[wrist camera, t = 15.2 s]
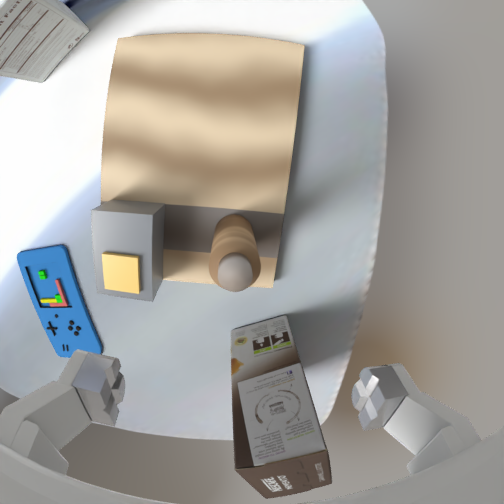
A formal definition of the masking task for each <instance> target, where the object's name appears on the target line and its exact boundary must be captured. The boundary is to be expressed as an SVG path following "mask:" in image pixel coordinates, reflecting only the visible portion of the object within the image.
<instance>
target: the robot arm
mask: <svg viewBox="0 0 504 504" xmlns="http://www.w3.org/2000/svg"><path fill="white" fill-rule="evenodd" d="M120 367H121V365H120V362H119V359H117V358H114V357H110V356H105V355H101V354H97V353H92V352H87V351H83V350H79V349H77V350H76V351H74V353H73V354H72V356H71V358H70V359H69V361H68V363H67V365H66V366H65V368H64V370H63V372H62V373H61V375H60V377H59V379H58V381H57V382H56V381H52V382H50V383H48V384H47V385H45V386H43V387H41V388H39V389H38V390H36V391H34V392H32V393H30V394H29V395H27V396H25V397H23V398H21V399H20V400H18V401H16V402H14V403H12V404H11V405H9V406H7V407H5V408H4V410H3V411H2V413H1V415H0V504H175V503H168V502H161V501H155V500H150V499H145V498H139V497H135V496H130V495H126V494H122V493H118V492H115V491H111V490H108V489H104V488H100V487H97V486H94V485H91V484H88V483H85V482H82V481H79V480H77V479H74V478H71V477H69V476H66V472H67V468H68V465H69V464H68V462H67V461H66V460H65V458H64V457H63V456H62V455H61V454H60V453H59V452H58V451H59V450H60V449H61V448H63V447H64V446H65V445H66V444H67V443H68V442H70V441H71V440H72V439H73V438H74V437H75V436H76V435H78V434H79V433H80V432H81V431H82V430H84V429H85V428H86V427H87V426H88V425H89V424H91V423H92V422H91V421H93V422H97V423H102V424H106V425H110V426H115V423H116V420H117V417H118V413H119V409H118V407H117V405H118V404H119V403H120V402H122V401H123V397H124V393H125V380H124V376H123V375H122V374H121V373H120V372H119V370H120ZM359 376H360V378H361V380H359V381H358V382H357V383H355V385H354V387H353V390H352V402H353V405H354V407H355V408H356V409H357V410H359V411H360V413H359V416H358V418H359V420H360V423H361V425H362V428H363V430H364V431H365V430H370V429H376V428H381V427H384V429H385V430H386V431H387V432H389V433H390V434H391V435H392V436H393V437H394V438H395V439H397V440H398V441H399V442H400V443H401V444H402V445H404V446H405V447H406V448H407V449H408V450H410V451H411V452H412V453H413V454H414V455H416V456H415V457H414V458H413V459H412V460H411V461H410V462H409V463H408V464H407V468H408V470H409V473H410V476H408V477H405V478H402V479H400V480H397V481H394V482H391V483H388V484H385V485H382V486H379V487H375V488H372V489H368V490H365V491H361V492H357V493H353V494H349V495H345V496H340V497H336V498H331V499H325V500H320V501H315V502H307V503H300V504H504V426H503V427H501V428H500V429H498V430H497V431H495V432H494V433H492V434H491V435H489V436H488V437H486V438H485V439H483V440H481V439H480V437H479V435H478V434H477V432H476V430H475V429H474V427H473V426H472V424H471V422H470V421H469V419H468V418H467V417H466V416H464V415H462V414H460V413H459V412H457V411H455V410H454V409H452V408H450V407H448V406H447V405H445V404H443V403H442V402H440V401H438V400H436V399H435V398H433V397H431V396H430V395H428V394H426V393H424V392H420V391H419V389H418V388H417V386H416V385H415V383H414V382H413V380H412V378H411V377H410V375H409V374H408V372H407V371H406V369H405V368H404V366H403V365H402V364H400V363H398V364H390V365H382V366H374V367H366V368H364V369H363V370H362V371H361V373H360V375H359Z"/></svg>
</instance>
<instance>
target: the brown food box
mask: <svg viewBox="0 0 504 504" xmlns="http://www.w3.org/2000/svg"><path fill="white" fill-rule="evenodd" d="M231 378H232V412H233V439H234V461H235V470H236V472H237V473H239V474H240V475H241V476H242V477H243V478H244V479H245V480H246V481H247V482H248V483H249V484H250V485H251V486H252V487H254V488H255V489H256V490H257V491H258V492H259V493H260V494H261V495H262V496H263V497H265V498H267V499H268V498H274V497H281V496H287V495H292V494H297V493H301V492H305V491H309V490H311V489H314V488H318V487H322V486H325V485H329V484H331V483H332V476H331V467H330V460H329V454H328V450H327V447H326V445H325V442H324V438H323V434H322V431H321V428H320V424H319V421H318V417H317V413H316V410H315V407H314V404H313V400H312V397H311V394H310V390H309V387H308V384H307V380H306V377H305V374H304V371H303V367H302V364H301V361H300V358H299V354H298V351H297V348H296V345H295V342H294V338H293V335H292V332H291V329H290V326H289V322H288V319H287V316H285V315H284V316H280V317H277V318H273V319H270V320H266V321H263V322H259V323H256V324H252V325H249V326H245V327H241V328H237V329H234V330H232V331H231Z"/></svg>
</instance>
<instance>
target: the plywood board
mask: <svg viewBox="0 0 504 504" xmlns="http://www.w3.org/2000/svg"><path fill="white" fill-rule="evenodd" d="M304 46H305V45H301V44H296V43H291V42H286V41H280V40H273V39H267V38H259V37H251V36H241V35H228V34H208V33H175V34H155V35H143V36H133V37H125V38H118V41H117V45H116V50H115V55H114V59H113V65H112V70H111V76H110V82H109V88H108V95H107V102H106V111H105V120H104V131H103V144H102V164H101V205H102V204H104V203H106V202H108V201H110V200H126V201H140V202H154V203H165V218H164V243H163V280H172V281H183V282H195V283H207V284H216V283H215V282H214V281H213V279H212V278H211V276H210V273H209V260H210V255H211V249H212V243H213V238H214V232H215V227H216V225H217V223H218V222H219V221H220V220H221V219H222V218H223V217H225V216H227V215H232V214H236V215H240V216H243V217H244V218H246V219H247V220H248V221H249V222H250V224H251V226H252V229H253V233H254V237H255V241H256V245H257V250H258V254H259V258H260V262H261V272H260V275H259V277H258V279H257V280H256V281H255V283H254V284H252V285H251V286H250V287H264V288H273V282H274V276H275V270H276V263H277V258H278V252H279V246H280V239H281V233H282V226H283V219H284V210H285V203H286V196H287V189H288V182H289V175H290V167H291V159H292V152H293V144H294V136H295V128H296V120H297V111H298V103H299V94H300V85H301V75H302V66H303V56H304Z"/></svg>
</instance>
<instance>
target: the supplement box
mask: <svg viewBox="0 0 504 504" xmlns="http://www.w3.org/2000/svg"><path fill="white" fill-rule="evenodd" d="M89 31H90V30H89V29H88V27H87V26H86V25H85V24H84V23H83V22H82V21H81V20H80V19H79V18H78V17H77V16H76V15H75V14H74V13H73V12H72V11H71V10H70V9H69V8H68V7H67V6H66V5H65V4H64V3H62V2H61V1H59V0H0V76H3V77H10V78H16V79H22V80H27V81H33V82H38V83H42V82H43V81H44V80H45V79H46V78H47V77H48V76H49V74H50V73H51V72H52V71H53V69H54V68H55V67H56V66H57V65H58V64H59V63H60V61H61V60H62V59H63V58H64V57H65V56H66V55H67V54H68V53H69V52H70V50H71V49H72V48H73V47H74V46H75V45H76V44H77V43H78V42H79V41H80V40H81V39H82V38H83V37H84V36H85V35H86V34H87V33H88V32H89Z"/></svg>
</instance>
